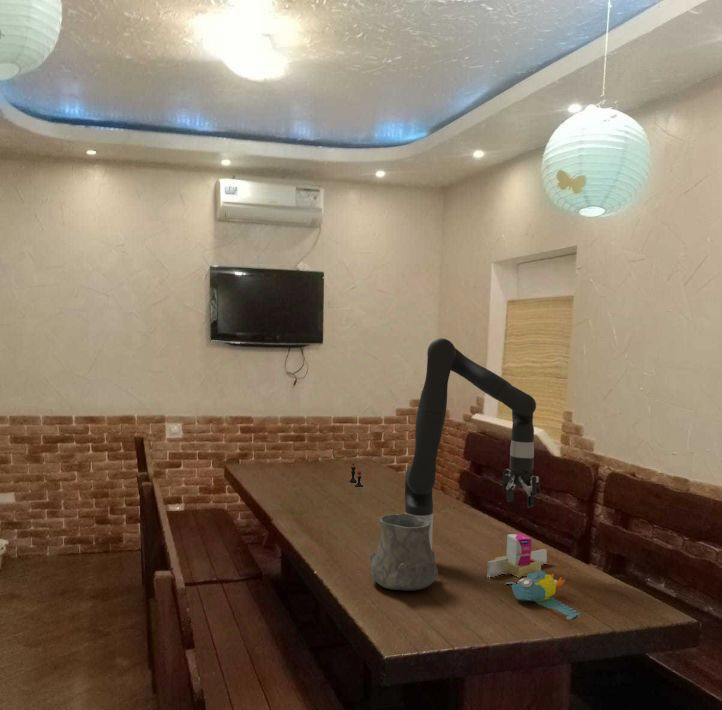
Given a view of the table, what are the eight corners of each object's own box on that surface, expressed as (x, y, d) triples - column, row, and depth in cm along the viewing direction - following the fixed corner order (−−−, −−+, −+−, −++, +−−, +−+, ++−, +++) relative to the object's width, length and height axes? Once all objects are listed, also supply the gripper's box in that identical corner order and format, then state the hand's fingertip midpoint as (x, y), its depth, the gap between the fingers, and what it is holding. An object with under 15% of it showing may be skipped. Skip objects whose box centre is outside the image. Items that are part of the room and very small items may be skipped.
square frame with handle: (500, 583, 198) (500, 567, 198) (476, 572, 206) (477, 557, 206) (557, 568, 212) (557, 553, 212) (533, 559, 221) (533, 544, 221)
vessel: (392, 566, 210) (394, 505, 209) (450, 584, 196) (452, 519, 195) (349, 584, 193) (351, 518, 192) (409, 605, 179) (412, 534, 178)
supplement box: (515, 574, 205) (516, 539, 205) (505, 568, 211) (506, 534, 211) (530, 573, 207) (532, 538, 207) (520, 567, 213) (521, 532, 213)
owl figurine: (595, 585, 176) (553, 595, 169) (594, 616, 176) (552, 627, 170) (525, 554, 201) (486, 561, 194) (525, 581, 201) (486, 589, 194)
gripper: (497, 452, 212) (495, 500, 213) (530, 459, 201) (528, 511, 201) (513, 450, 217) (511, 498, 217) (547, 457, 205) (544, 508, 205)
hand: (519, 504), depth 209 cm, fingers open, 8 cm apart
